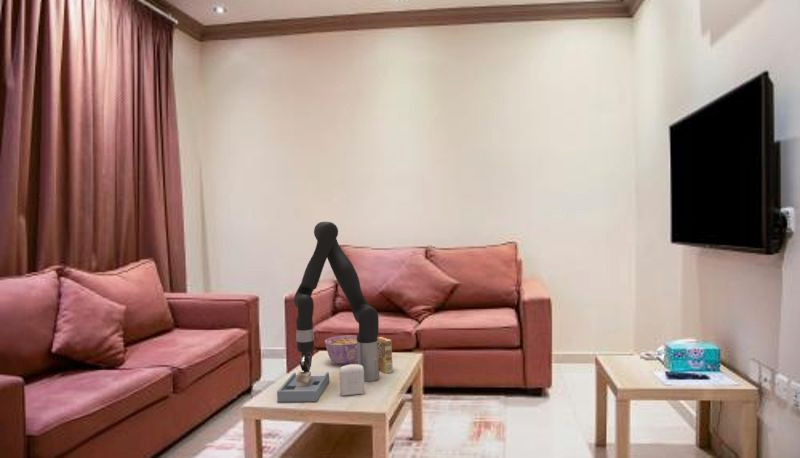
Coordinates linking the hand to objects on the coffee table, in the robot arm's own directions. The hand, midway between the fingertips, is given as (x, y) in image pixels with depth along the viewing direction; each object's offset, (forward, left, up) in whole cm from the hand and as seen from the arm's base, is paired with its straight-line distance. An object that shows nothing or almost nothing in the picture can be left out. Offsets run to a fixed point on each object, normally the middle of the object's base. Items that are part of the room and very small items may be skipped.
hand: (307, 378), depth 253 cm
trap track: (0, +5, -4) cm, 7 cm away
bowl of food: (-10, -40, -4) cm, 41 cm away
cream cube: (0, +5, -1) cm, 5 cm away
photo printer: (-21, +8, -4) cm, 23 cm away
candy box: (-31, -25, -4) cm, 40 cm away
